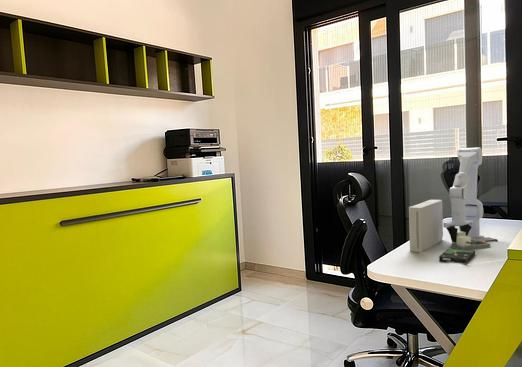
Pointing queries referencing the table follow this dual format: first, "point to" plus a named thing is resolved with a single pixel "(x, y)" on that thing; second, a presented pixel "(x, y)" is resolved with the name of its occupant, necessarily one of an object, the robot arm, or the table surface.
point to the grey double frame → (472, 245)
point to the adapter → (464, 240)
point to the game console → (425, 225)
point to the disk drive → (457, 256)
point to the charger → (460, 234)
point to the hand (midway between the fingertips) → (458, 241)
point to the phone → (485, 239)
